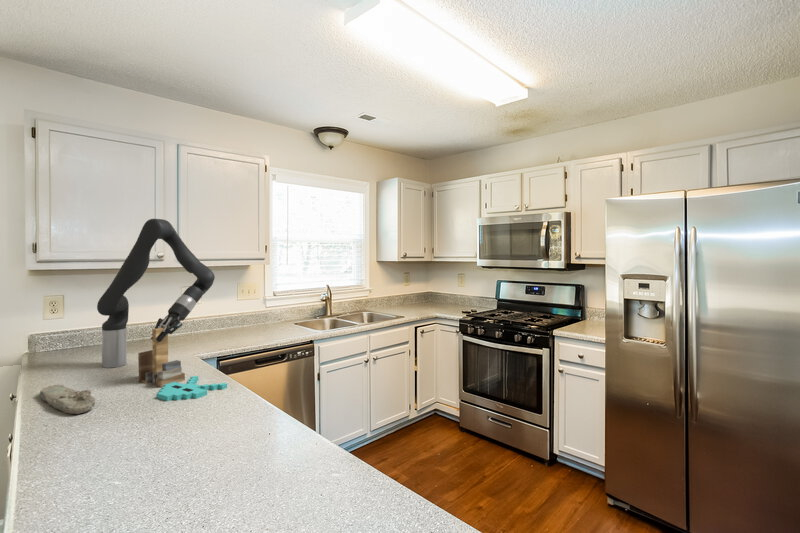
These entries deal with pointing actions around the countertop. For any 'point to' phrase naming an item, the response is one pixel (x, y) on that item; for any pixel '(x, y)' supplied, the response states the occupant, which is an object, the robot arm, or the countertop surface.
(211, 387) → the alien figure
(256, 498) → the countertop surface
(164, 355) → the tall panel
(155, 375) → the rack
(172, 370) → the offcut stack
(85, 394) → the elongated rock
